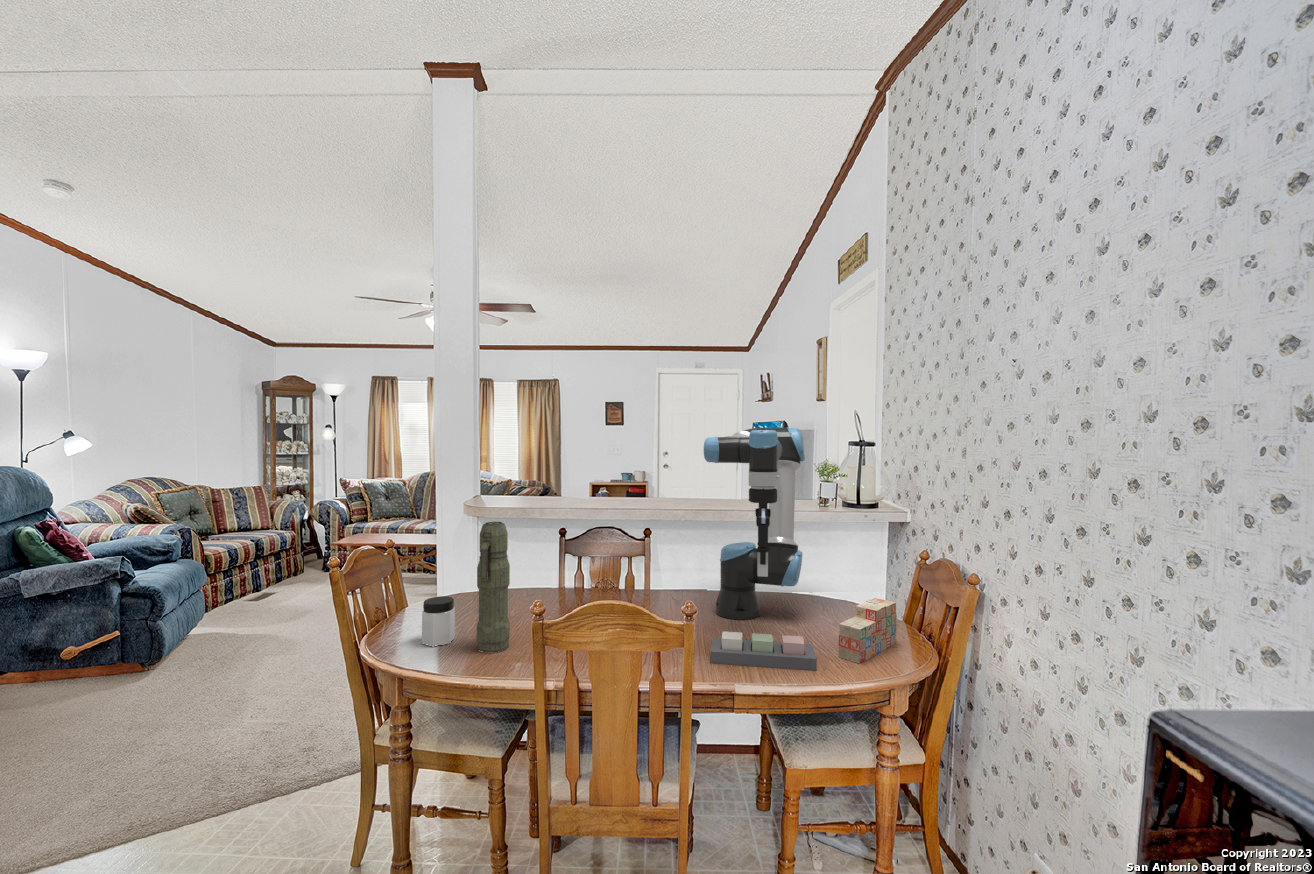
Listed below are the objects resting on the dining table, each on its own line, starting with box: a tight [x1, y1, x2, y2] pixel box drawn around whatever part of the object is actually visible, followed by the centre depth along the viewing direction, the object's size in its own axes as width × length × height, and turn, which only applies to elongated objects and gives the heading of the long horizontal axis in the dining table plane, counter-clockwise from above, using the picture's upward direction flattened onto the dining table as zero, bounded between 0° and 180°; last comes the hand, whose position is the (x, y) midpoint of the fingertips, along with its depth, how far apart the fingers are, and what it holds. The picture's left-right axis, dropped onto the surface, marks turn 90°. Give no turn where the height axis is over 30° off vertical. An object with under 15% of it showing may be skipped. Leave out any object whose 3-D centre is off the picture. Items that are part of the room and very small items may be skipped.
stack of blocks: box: [838, 597, 897, 664], centre depth 154 cm, size 21×6×12 cm, turn 132°
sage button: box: [751, 632, 774, 653], centre depth 148 cm, size 5×5×4 cm
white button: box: [721, 630, 743, 651], centre depth 149 cm, size 5×5×4 cm
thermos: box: [476, 521, 511, 653], centre depth 155 cm, size 9×12×35 cm
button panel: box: [709, 637, 818, 672], centre depth 148 cm, size 27×10×3 cm, turn 80°
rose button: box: [781, 634, 805, 655], centre depth 147 cm, size 5×5×4 cm
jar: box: [421, 595, 456, 646], centre depth 159 cm, size 9×8×12 cm
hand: (762, 575), depth 148 cm, fingers closed
